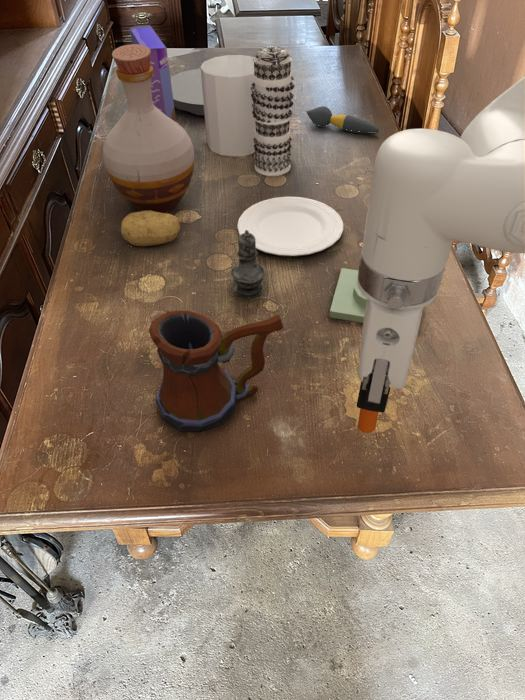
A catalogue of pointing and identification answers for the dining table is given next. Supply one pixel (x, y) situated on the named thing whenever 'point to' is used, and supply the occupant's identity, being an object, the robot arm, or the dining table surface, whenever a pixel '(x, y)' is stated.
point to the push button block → (348, 298)
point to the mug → (203, 367)
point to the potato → (149, 228)
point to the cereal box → (157, 68)
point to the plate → (291, 226)
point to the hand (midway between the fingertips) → (372, 397)
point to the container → (229, 104)
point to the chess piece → (248, 268)
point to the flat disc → (188, 91)
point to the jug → (146, 141)
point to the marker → (367, 419)
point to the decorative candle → (272, 110)
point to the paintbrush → (340, 121)
